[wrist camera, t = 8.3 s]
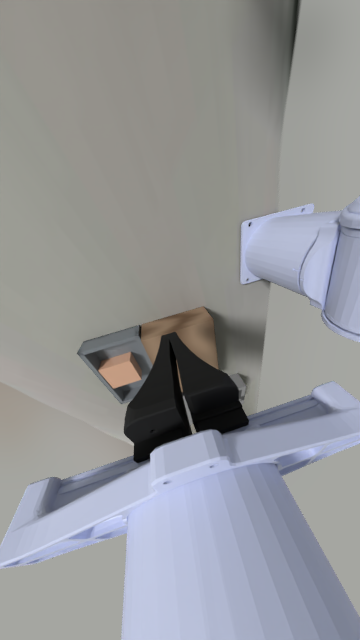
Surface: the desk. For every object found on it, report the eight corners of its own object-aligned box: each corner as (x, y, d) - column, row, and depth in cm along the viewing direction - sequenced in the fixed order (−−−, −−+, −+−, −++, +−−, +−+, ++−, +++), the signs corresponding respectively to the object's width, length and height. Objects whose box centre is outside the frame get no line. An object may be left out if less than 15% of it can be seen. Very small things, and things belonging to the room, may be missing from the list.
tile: (98, 370, 22) (101, 360, 24) (113, 388, 25) (115, 378, 27) (129, 360, 23) (130, 351, 24) (141, 379, 25) (141, 370, 27)
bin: (139, 325, 23) (138, 335, 20) (163, 378, 30) (165, 390, 28) (83, 341, 22) (76, 353, 20) (122, 391, 30) (121, 404, 28)
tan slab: (203, 306, 23) (213, 319, 20) (211, 363, 31) (219, 380, 27) (141, 324, 23) (141, 341, 19) (165, 378, 30) (168, 396, 27)
